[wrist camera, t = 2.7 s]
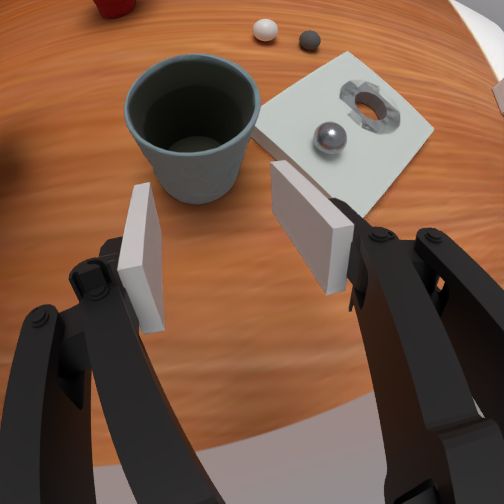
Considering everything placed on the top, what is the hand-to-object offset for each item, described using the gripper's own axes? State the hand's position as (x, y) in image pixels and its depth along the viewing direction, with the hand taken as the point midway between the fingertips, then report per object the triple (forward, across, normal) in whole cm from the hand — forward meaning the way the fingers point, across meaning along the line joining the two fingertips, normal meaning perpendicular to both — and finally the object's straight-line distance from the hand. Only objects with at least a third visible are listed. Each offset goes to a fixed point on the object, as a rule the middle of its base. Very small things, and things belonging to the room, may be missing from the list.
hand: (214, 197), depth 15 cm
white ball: (+31, +12, +11) cm, 35 cm away
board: (+20, +19, -3) cm, 28 cm away
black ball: (+30, +18, +9) cm, 36 cm away
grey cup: (+19, 0, -5) cm, 19 cm away
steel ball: (+15, +14, -2) cm, 20 cm away
